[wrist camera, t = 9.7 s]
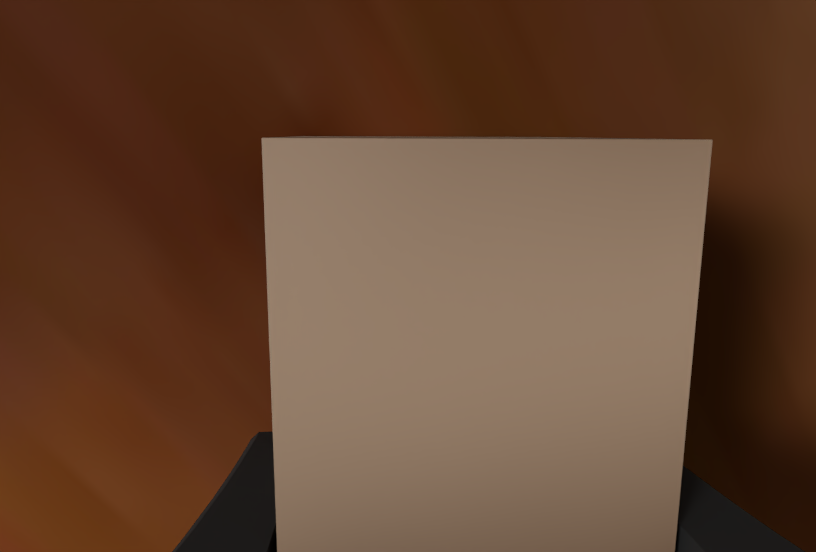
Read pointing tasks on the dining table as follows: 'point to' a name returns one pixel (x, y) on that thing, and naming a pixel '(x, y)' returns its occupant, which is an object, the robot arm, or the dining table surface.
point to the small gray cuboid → (481, 340)
